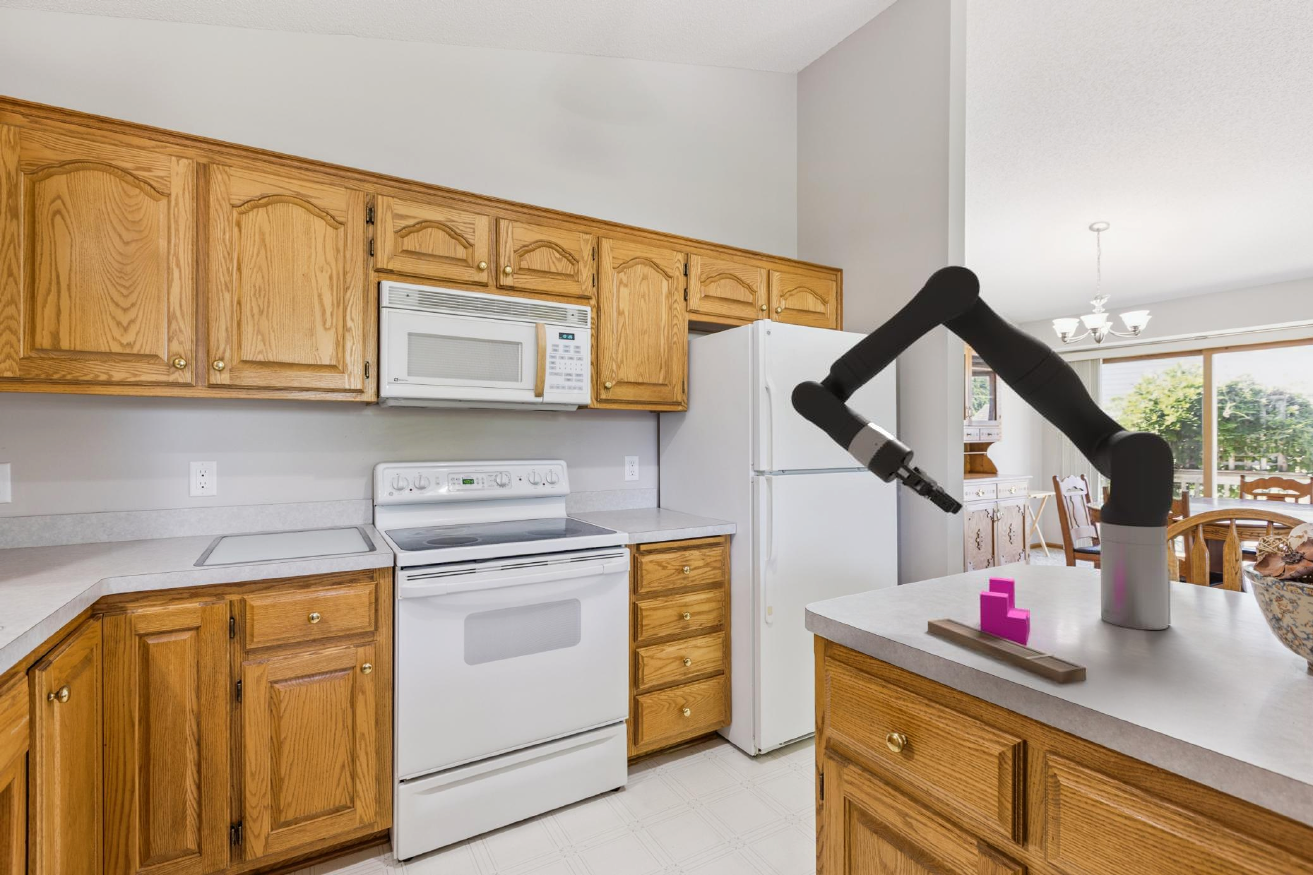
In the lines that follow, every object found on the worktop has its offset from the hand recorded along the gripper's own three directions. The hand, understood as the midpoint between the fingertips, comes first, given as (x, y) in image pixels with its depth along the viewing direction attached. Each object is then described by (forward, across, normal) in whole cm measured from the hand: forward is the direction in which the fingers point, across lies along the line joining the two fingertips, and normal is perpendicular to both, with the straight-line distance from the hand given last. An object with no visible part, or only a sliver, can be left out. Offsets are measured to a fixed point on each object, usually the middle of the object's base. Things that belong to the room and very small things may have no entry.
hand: (956, 509), depth 107 cm
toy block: (+18, +3, +11) cm, 22 cm away
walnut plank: (+18, -9, +13) cm, 24 cm away
